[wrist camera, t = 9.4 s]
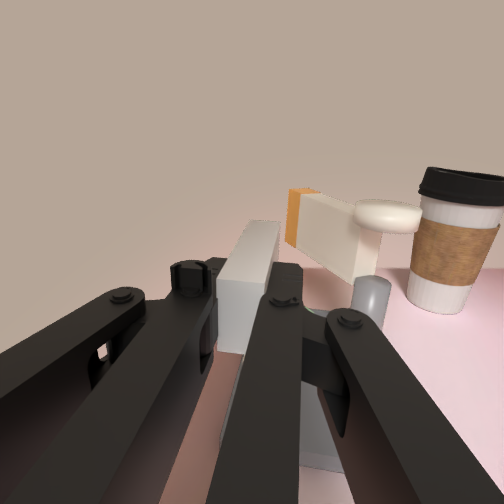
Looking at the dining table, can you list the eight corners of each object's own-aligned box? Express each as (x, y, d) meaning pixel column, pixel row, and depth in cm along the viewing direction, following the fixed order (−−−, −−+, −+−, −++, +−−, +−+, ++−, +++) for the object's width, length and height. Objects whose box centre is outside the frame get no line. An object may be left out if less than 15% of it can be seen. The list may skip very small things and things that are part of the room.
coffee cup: (388, 281, 43) (413, 163, 38) (457, 288, 42) (493, 168, 36) (405, 315, 35) (439, 173, 30) (490, 325, 34) (543, 180, 29)
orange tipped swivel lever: (396, 373, 25) (437, 212, 20) (353, 387, 23) (387, 216, 19) (305, 293, 36) (318, 177, 31) (272, 299, 34) (280, 178, 30)
